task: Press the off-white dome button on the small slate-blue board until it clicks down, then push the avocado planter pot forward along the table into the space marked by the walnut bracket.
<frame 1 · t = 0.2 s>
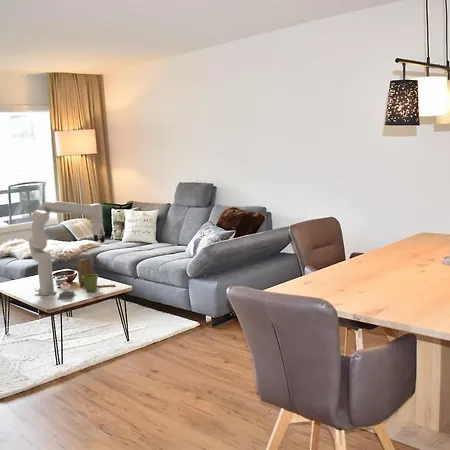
hand: (99, 241, 418), 31 cm above the table, tool pointing down, fingers open, 9 cm apart
popper dome: (65, 287, 381), point 7 cm above the table, slide at 0.0 cm
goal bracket: (105, 286, 405), on the table
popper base: (66, 296, 382), on the table
block: (86, 284, 414), on the table
plant pot: (91, 291, 395), on the table
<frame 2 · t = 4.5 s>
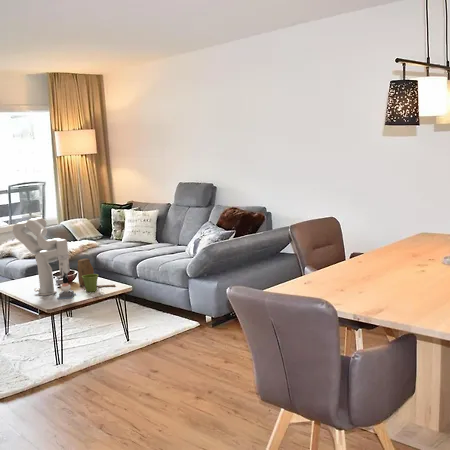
hand: (65, 282, 380), 10 cm above the table, tool pointing down, fingers closed
popper dome: (65, 288, 381), point 6 cm above the table, slide at 0.3 cm, touching gripper
everything else where it was.
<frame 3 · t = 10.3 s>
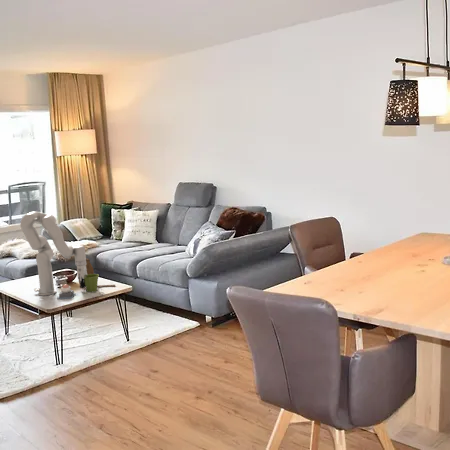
hand: (83, 287, 394), 3 cm above the table, tool pointing down, fingers closed
popper dome: (66, 289, 381), point 5 cm above the table, slide at 1.5 cm
plant pot: (91, 291, 395), on the table, touching gripper
everything else where it was.
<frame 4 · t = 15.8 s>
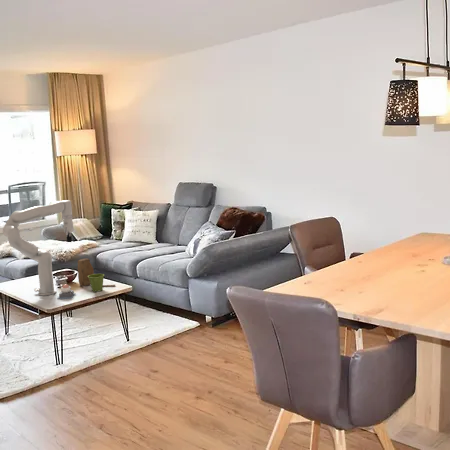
hand: (69, 241, 400), 35 cm above the table, tool pointing down, fingers closed
plant pot: (97, 290, 395), on the table
everything else where it was.
at the end: plant pot inside the target area (3.7 cm from its centre), on the table; popper dome slide at 1.5 cm; plant pot tilted 0° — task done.
